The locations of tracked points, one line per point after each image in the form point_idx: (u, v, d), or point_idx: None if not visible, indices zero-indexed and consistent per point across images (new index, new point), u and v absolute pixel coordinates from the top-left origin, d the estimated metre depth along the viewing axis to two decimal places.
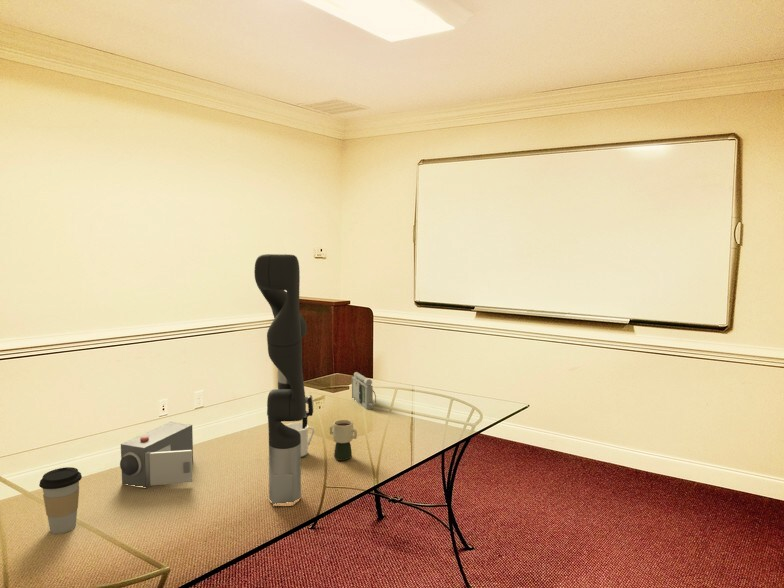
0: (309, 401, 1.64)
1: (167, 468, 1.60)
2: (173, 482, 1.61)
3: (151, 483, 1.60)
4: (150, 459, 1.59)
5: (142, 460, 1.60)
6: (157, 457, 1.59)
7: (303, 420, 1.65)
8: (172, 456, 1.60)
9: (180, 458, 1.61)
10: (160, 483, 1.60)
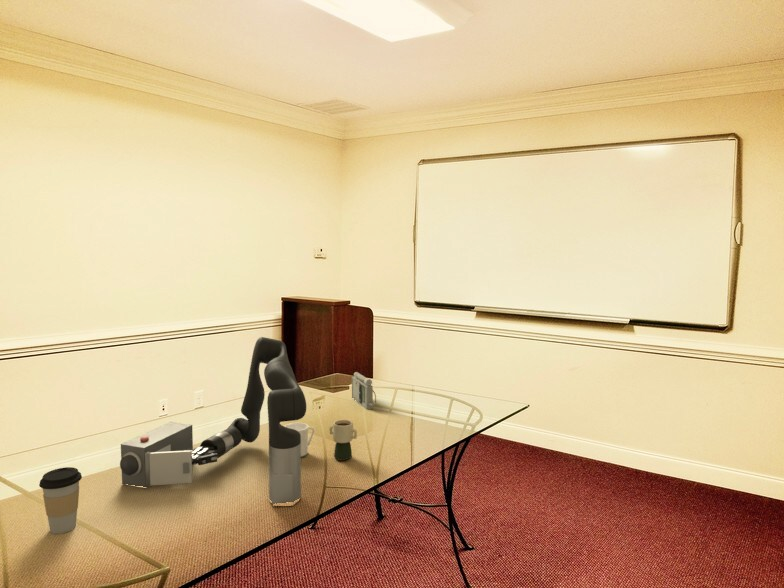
0: (213, 454, 1.68)
1: (166, 468, 1.60)
2: (173, 482, 1.61)
3: (151, 483, 1.60)
4: (150, 459, 1.59)
5: (142, 460, 1.60)
6: (157, 457, 1.59)
7: None
8: (172, 456, 1.60)
9: (180, 458, 1.60)
10: (160, 483, 1.60)
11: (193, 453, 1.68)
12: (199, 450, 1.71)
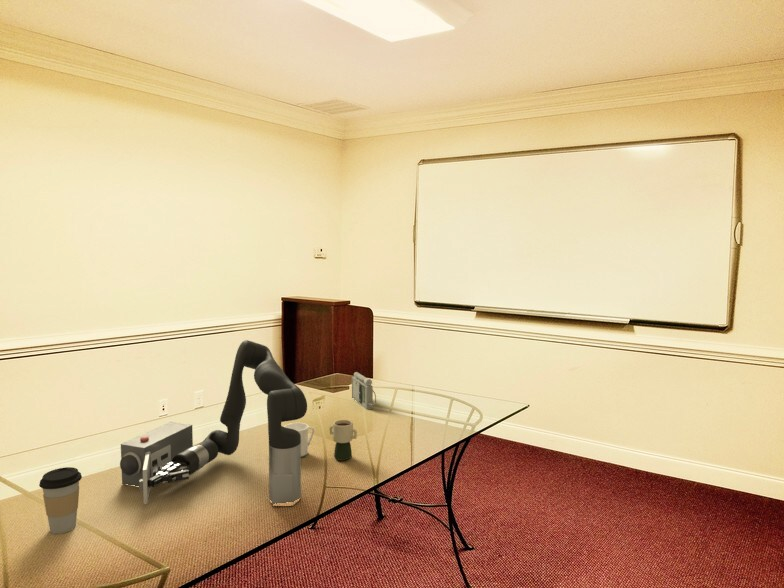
0: (184, 470, 1.56)
1: None
2: None
3: None
4: None
5: (142, 460, 1.60)
6: None
7: (157, 476, 1.52)
8: None
9: None
10: None
11: (163, 470, 1.56)
12: (170, 466, 1.58)
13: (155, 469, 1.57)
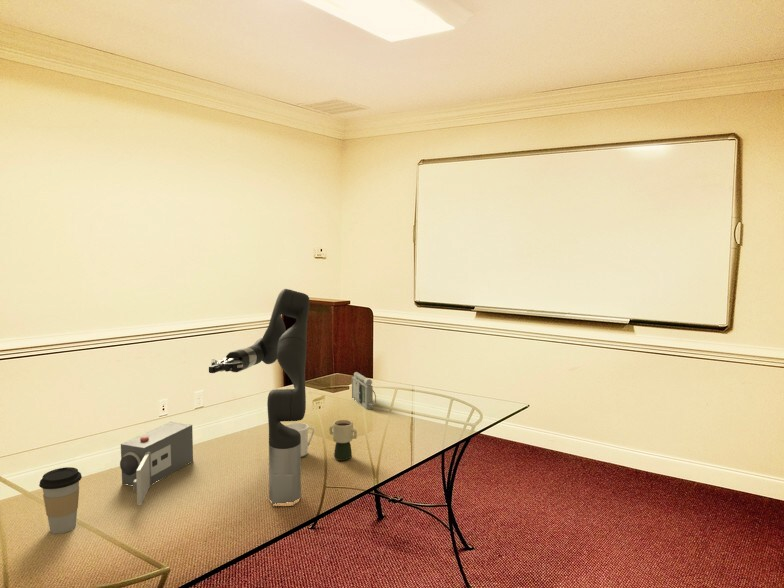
0: (239, 362, 1.78)
1: None
2: None
3: None
4: None
5: None
6: None
7: (217, 365, 1.74)
8: None
9: None
10: None
11: (220, 361, 1.77)
12: (225, 360, 1.80)
13: (213, 361, 1.78)
